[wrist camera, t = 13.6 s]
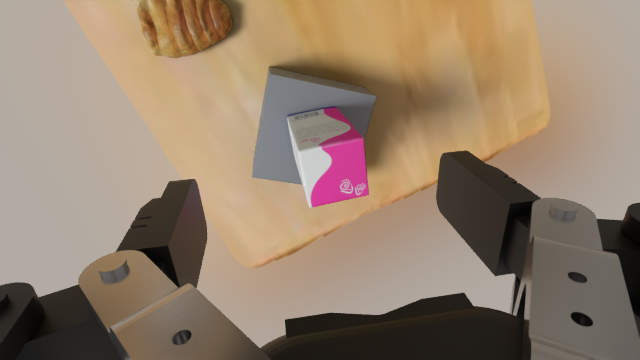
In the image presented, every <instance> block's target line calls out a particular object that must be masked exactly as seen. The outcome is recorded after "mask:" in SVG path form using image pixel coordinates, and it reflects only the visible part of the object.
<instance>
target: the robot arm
mask: <svg viewBox="0 0 640 360" xmlns="http://www.w3.org/2000/svg"><path fill="white" fill-rule="evenodd" d="M436 199H437V205H438V208H439V210H440V212H441V213H442V215H443V216H444V217H445V218H446V219H447V221H448V222H449V223H450V224H451V225H452V226H453V228H454V229H455V230H456V231H457V232H458V233H459V234H460V236H461V237H462V238H463V239H464V240H465V241H466V243H467V244H468V245H469V246H470V247H471V249H473V251H474V252H475V253H476V254H477V256H478V257H479V258H480V259H481V260H482V261H483V262H484V264H485V265H486V266H487V267H488V268H489V269H490V271H491V272H492V273H493V274H494V275H495V276H498V275H505V274H512V273H514V274H515V280H514V284H513V289H512V298H511V306H510V314H509V313H505V312H502V311H499V310H494V309H490V308H484V307H477V306H473V305H472V303H471V302H470V301H469V299H468V298H467V297H466V295H465V293H459V294H452V295H446V296H439V297H433V298H425V299H421V300H418V301H416V302H413V303H411V304H408V305H406V306H403V307H400V308H398V309H395V310H393V311H390V312H388V313H386V314H382V315H362V314H344V313H326V314H319V315H313V316H306V317H300V318H293V319H286V320H285V325H286V326H285V327H286V335H284V336H281V337H279V338H277V339H275V340H273V341H271V342H269V343H267V344H266V345H264V346H263V347H261V348H259V347H258V346H256V344H255V343H253V342H252V341H251V340H250V339H249V338H248V337H247V336H246V335H245V334H244V333H243V332H242V331H241V330H240V329H239V328H238V327H236V326H235V325H234V324H233V323H232V322H231V321H230V320H229V319H228V318H227V317H226V316H225V315H224V314H223V313H222V312H221V311H219V310H218V309H217V308H216V307H215V306H214V305H213V304H212V303H211V302H210V301H209V300H208V299H207V298H206V297H205V296H204V295H203V294H201V293H200V292H199V291H198V290H197V289H196V288H197V283H198V279H199V274H200V269H201V265H202V260H203V256H204V251H205V247H206V242H207V226H206V220H205V216H204V211H203V207H202V202H201V198H200V193H199V189H198V185H197V182H196V180H195V179H188V180H179V181H170V182H169V183H168V185H167V187H166V189H165V191H164V193H163V195H162V197H161V198H156V199H152V200H151V201H150V202H148V203H147V204H146V205H145V206H143V207H142V208H141V209H140V211H139V212H138V214H137V216H136V218H135V220H134V221H133V223H132V225H131V229H129V230H128V232H127V233H126V235H125V237H124V239H123V240H122V242H121V244H120V246H119V247H118V249H117V251H116V252H114V253H112V254H109V255H106V256H104V257H102V258H99V259H98V260H96V261H94V262H93V263H91V264H90V265H89V266H88V267H86V268H85V269H84V270H83V272H82V273H81V275H80V276H79V279H78V283H79V284H78V285H75V286H73V287H70V288H67V289H64V290H61V291H58V292H54V293H51V294H48V295H45V296H42V297H39V298H38V296H37V294H36V292H35V290H34V288H33V287H32V286H31V285H30V284H27V283H10V284H5V285H1V286H0V360H640V203H635V204H632V205H630V206H629V207H628V209H627V212H626V214H625V217H624V219H623V220H606V219H596V216H595V215H594V213H593V212H592V211H591V210H590V209H588V208H587V207H585V206H583V205H581V204H578V203H576V202H573V201H569V200H565V199H558V198H543V199H541V198H540V197H538V196H537V195H535V194H534V193H533V192H531V191H530V190H528V189H527V188H525V187H524V186H523V185H521V184H520V183H517V181H515V180H514V179H513V178H511V177H509V176H508V175H507V174H505V173H504V172H502V171H501V170H499V169H498V168H496V167H493V166H490V165H488V164H485V163H484V162H482V161H481V160H480V159H478V158H477V157H476V156H474V155H473V154H471V153H470V152H469V151H457V152H447V153H443V154H442V156H441V159H440V165H439V175H438V186H437V195H436Z"/></svg>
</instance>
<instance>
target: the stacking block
mask: <svg viewBox="0 0 640 360" xmlns="http://www.w3.org/2000/svg"><path fill="white" fill-rule="evenodd" d="M375 100H376V96H375V95H374V94H373V93H371V92H370V91H369V90H367V89H366V88H364V87H361V86H357V85H352V84H347V83H343V82H338V81H333V80H329V79H324V78H319V77H315V76H310V75H305V74H301V73H296V72H292V71H287V70H282V69H278V68H273V67H269V69H268V75H267V81H266V87H265V93H264V99H263V105H262V111H261V117H260V123H259V129H258V135H257V141H256V147H255V153H254V159H253V174H252V177H254V178H261V179H268V180H274V181H281V182H288V183H295V184H301V185H302V181H301V178H300V175H299V171H298V168H297V165H296V162H295V158H294V153H293V148H292V143H291V138H290V132H289V127H288V121H287V115H291V114H296V113H301V112H306V111H311V110H316V109H322V108H327V107H333V106H335V107H337V108H338V110H339V111H340V112H341V113H342V114H343V115H344V117H345V118H346V119H347V120H348V121H349V122H350V123H351V124H352V126H353V127H354V128H355V129H356V130H357V131H358V132H359V134H360V135H361V136H362V137H363V138H364V139H365V135H366V132H367V128H368V125H369V121H370V118H371V114H372V110H373V107H374V103H375Z"/></svg>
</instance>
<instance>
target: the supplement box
mask: <svg viewBox="0 0 640 360" xmlns="http://www.w3.org/2000/svg"><path fill="white" fill-rule="evenodd" d="M287 121H288V127H289V132H290V138H291V143H292V148H293V153H294V158H295V162H296V165H297V168H298V171H299V175H300V178H301V181H302V185H303V188H304V191H305V195H306V198H307V201H308V205H309V207H310V208H312V207H316V206H320V205H325V204H330V203H334V202H339V201H343V200H348V199H352V198H357V197H361V196H366V195H369V190H368V181H367V169H366V158H365V146H364V138H363V137H362V136H361V135H360V134H359V132H358V131H357V130H356V129H355V128H354V127H353V126H352V124H351V123H350V122H349V121H348V120H347V119H346V118H345V117H344V115H343V114H342V113H341V112H340V111H339V110H338V108H337V107H335V106H333V107H327V108H322V109H316V110H311V111H306V112H301V113H296V114H291V115H287Z"/></svg>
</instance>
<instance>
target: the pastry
mask: <svg viewBox="0 0 640 360" xmlns="http://www.w3.org/2000/svg"><path fill="white" fill-rule="evenodd" d="M136 5H137V15H138V20H139V25H140V30H141V33H142V35H143V36H144V38H145V42H146V44H147V46H148V48H149V49H150V50H151V51H152V53H153V54H154V55H157V56H166V57H170V58H179V57H181V56H186V55H192V54H196V53H198V52H200V51H202V50H204V49H205V48H207V47H210V46H211V45H213V44H215V43H217V42H219V41H220V40H222V39H224V38H225V36H226V35H227V33H228V32H229V31H230V29H231V28H232V18H231V15H230V10H229V8H228V6H227V5H226V4H224V3H223V2H222V1H221V0H137V1H136Z"/></svg>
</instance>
